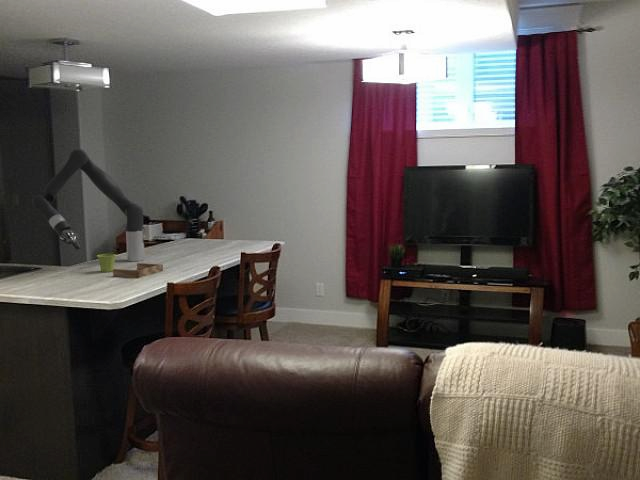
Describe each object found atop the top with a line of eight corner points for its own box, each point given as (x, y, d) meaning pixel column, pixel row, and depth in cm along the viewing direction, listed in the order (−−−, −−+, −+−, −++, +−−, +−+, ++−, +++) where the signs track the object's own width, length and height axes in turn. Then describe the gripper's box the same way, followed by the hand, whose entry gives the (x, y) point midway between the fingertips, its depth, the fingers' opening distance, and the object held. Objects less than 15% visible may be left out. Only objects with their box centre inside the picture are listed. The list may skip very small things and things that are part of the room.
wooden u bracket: (138, 269, 326) (138, 263, 325) (162, 271, 320) (162, 264, 320) (113, 276, 307) (112, 269, 306) (138, 278, 301) (138, 271, 301)
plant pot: (99, 273, 314) (98, 256, 313) (96, 270, 322) (95, 254, 321) (118, 272, 318) (117, 255, 317) (115, 269, 327) (114, 253, 325)
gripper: (53, 221, 320) (73, 245, 318) (72, 218, 333) (91, 242, 330) (46, 230, 323) (66, 254, 320) (65, 228, 335) (84, 251, 332)
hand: (79, 248), depth 325 cm, fingers closed
